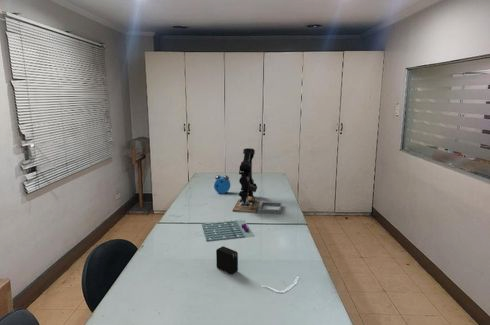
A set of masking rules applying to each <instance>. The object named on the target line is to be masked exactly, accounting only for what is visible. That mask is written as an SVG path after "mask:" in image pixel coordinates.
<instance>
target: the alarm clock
mask: <svg viewBox="0 0 490 325" xmlns="http://www.w3.org/2000/svg"><path fill="white" fill-rule="evenodd" d="M214 179H215V181H214V183H213V188H214V191H215V192H217V193H218V194H221V195H222V194H223V195H224V194H227V193H228V192H229V190H230V188H231V186H232V185H231V181H230V177H229V176H228V175H216V176H215V178H214Z"/></svg>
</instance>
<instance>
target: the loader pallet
mask: <svg viewBox="0 0 490 325" xmlns="http://www.w3.org/2000/svg"><path fill="white" fill-rule="evenodd" d="M250 197H252V200H249V206H242V199H241V198H238V200H237V201H236V203H235V205H234V206H233V208H232V212H235V213H250V214H251V213H252V214H256V211H257V208H258V206H259V204H260V200H259V199H256V196H255V195H253V196H250Z"/></svg>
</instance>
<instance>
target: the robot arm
mask: <svg viewBox="0 0 490 325" xmlns="http://www.w3.org/2000/svg"><path fill="white" fill-rule="evenodd" d="M242 154H243V160H242V161H241V162H240V165H239V171H238V175H240V178H239V180H238V181H239V184H240V186H241V188H240V191H238V192H239V193H238V197H240V199H242V201H243V203H244V204H245V203H246V198H247V196H254V193H256V192H257V190H258V186H257V183H255V180H254V178H253V158H254V157H255V154H256V150H255V149H254V148H251V147H250V148H244V149H243V151H242Z"/></svg>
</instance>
